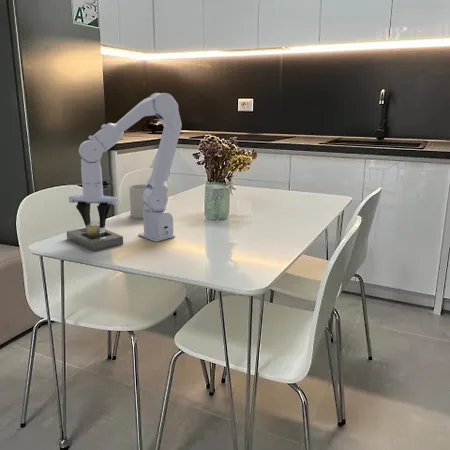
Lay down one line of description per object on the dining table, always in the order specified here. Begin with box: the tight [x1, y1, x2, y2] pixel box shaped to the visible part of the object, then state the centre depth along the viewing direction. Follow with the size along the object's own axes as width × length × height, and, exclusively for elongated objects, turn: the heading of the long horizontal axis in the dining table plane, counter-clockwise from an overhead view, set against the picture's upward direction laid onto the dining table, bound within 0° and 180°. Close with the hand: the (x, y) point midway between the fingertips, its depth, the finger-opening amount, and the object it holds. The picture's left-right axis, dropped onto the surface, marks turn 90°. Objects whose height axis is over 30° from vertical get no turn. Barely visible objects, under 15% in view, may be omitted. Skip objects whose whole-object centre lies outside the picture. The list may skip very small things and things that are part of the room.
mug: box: [129, 184, 147, 219], centre depth 167 cm, size 12×8×11 cm
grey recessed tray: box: [66, 226, 124, 252], centre depth 139 cm, size 16×10×2 cm, turn 45°
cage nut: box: [87, 220, 106, 239], centre depth 138 cm, size 4×5×4 cm
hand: (95, 226), depth 137 cm, fingers closed on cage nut, 4 cm apart
